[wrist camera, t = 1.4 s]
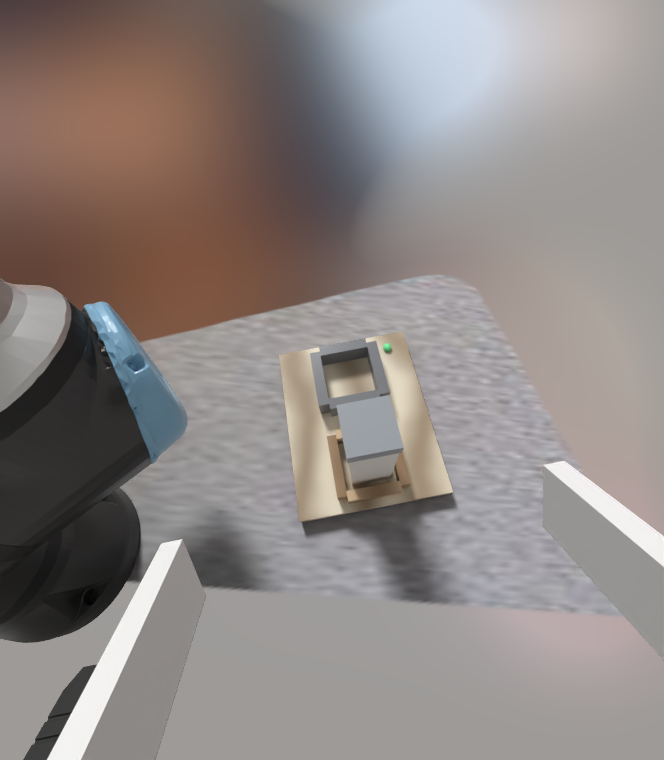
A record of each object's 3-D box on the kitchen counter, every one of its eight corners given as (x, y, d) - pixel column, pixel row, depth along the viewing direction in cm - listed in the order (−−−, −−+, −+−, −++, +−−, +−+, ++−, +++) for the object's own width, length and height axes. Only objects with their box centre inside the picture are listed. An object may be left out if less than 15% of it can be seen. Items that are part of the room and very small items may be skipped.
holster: (339, 505, 36) (338, 503, 34) (327, 437, 39) (325, 431, 37) (409, 492, 36) (412, 489, 34) (392, 424, 39) (393, 418, 38)
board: (301, 522, 37) (299, 521, 36) (281, 359, 46) (279, 355, 44) (450, 493, 37) (453, 492, 36) (401, 336, 46) (402, 331, 44)
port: (321, 418, 40) (319, 411, 38) (311, 359, 44) (309, 349, 42) (406, 402, 40) (409, 393, 38) (390, 344, 44) (391, 333, 42)
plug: (351, 486, 37) (346, 458, 25) (344, 448, 39) (336, 405, 27) (390, 479, 37) (403, 447, 25) (381, 441, 39) (389, 394, 27)
